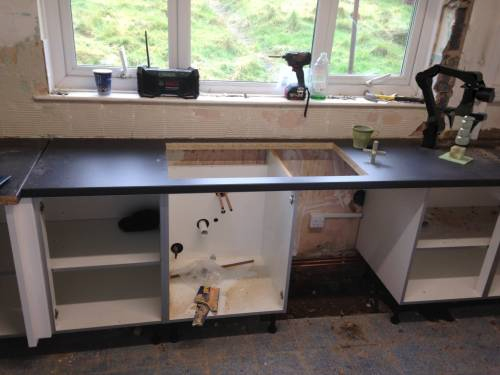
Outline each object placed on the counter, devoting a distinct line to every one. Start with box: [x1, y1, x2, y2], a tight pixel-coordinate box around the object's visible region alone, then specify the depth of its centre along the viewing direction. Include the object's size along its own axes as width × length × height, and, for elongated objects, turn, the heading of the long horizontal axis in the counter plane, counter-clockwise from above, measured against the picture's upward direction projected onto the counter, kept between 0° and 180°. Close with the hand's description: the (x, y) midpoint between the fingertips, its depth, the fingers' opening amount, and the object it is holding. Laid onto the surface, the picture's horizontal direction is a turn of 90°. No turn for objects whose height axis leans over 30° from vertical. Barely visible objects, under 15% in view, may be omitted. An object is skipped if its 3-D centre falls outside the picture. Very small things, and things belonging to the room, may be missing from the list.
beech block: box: [449, 145, 466, 160], centre depth 204 cm, size 5×5×5 cm
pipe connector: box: [362, 140, 387, 164], centre depth 192 cm, size 10×10×10 cm
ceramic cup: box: [352, 124, 380, 150], centre depth 212 cm, size 13×10×10 cm
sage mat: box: [438, 151, 474, 166], centre depth 205 cm, size 12×12×1 cm
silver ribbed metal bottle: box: [454, 107, 475, 146], centre depth 223 cm, size 6×7×20 cm
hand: (460, 131), depth 206 cm, fingers open, 9 cm apart
